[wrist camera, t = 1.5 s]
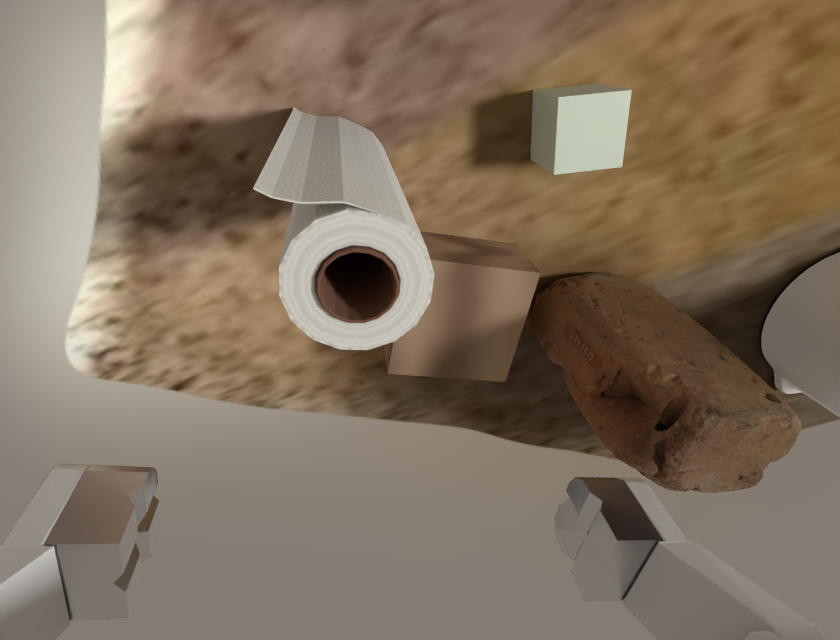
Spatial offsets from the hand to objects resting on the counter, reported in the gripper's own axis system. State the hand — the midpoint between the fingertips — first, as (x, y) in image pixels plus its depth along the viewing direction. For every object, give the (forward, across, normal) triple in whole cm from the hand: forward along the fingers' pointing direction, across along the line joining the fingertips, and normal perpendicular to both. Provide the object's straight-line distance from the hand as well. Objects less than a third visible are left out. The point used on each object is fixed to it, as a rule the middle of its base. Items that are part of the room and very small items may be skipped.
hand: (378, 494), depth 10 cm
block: (+32, -23, +10) cm, 41 cm away
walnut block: (+32, -10, +10) cm, 35 cm away
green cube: (+32, -16, -5) cm, 36 cm away
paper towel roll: (+32, 0, 0) cm, 32 cm away
